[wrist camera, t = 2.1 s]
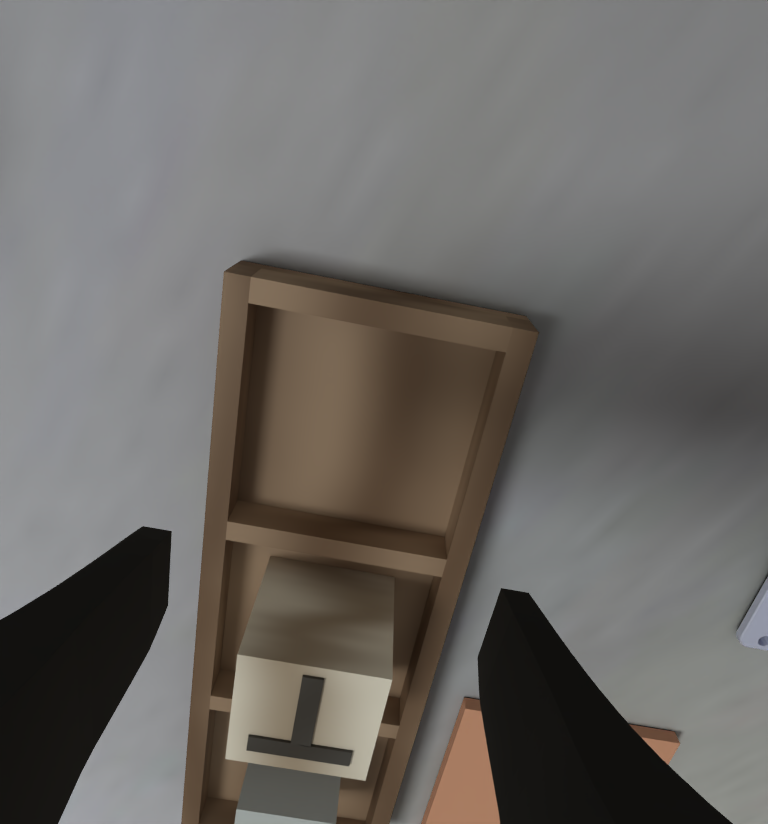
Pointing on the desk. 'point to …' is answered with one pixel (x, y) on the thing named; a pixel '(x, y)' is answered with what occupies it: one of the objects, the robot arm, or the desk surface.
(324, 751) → the letter cube
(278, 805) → the blank block
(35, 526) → the desk surface
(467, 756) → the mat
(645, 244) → the desk surface
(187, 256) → the desk surface
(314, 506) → the organizer
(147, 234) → the desk surface
